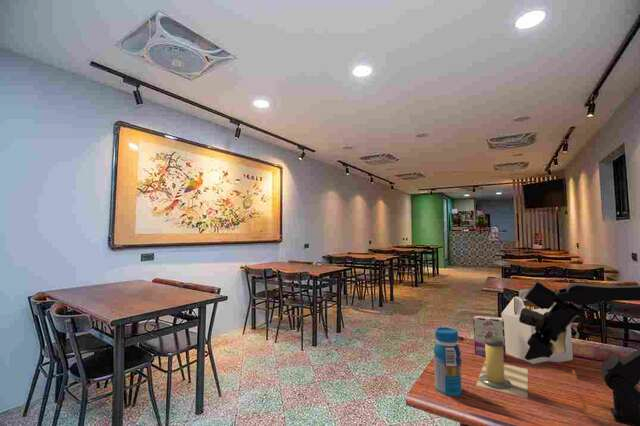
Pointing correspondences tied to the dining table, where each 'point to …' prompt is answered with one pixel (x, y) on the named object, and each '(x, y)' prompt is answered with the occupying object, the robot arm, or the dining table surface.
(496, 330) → the candy bar box
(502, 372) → the yellow cylinder
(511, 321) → the gable box
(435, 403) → the dining table surface
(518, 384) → the base board
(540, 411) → the dining table surface
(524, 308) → the robot arm
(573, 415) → the dining table surface
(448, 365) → the beverage bottle
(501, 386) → the slate seat
